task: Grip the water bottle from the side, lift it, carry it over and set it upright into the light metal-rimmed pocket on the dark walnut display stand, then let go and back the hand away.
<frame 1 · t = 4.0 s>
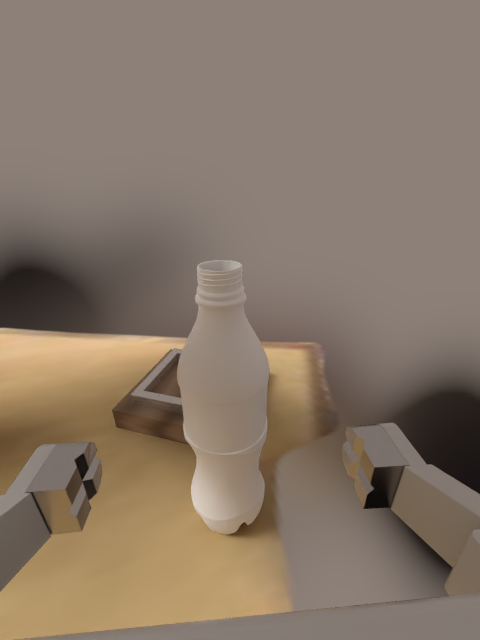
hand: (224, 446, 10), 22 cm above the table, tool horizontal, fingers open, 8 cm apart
water bottle: (228, 506, 30), on the table
display stand: (194, 399, 45), on the table
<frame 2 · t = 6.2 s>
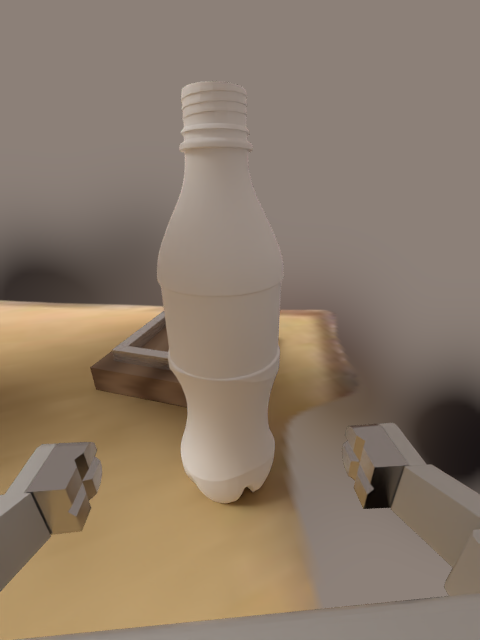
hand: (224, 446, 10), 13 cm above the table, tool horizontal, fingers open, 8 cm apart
water bottle: (229, 472, 24), on the table
display stand: (189, 362, 38), on the table
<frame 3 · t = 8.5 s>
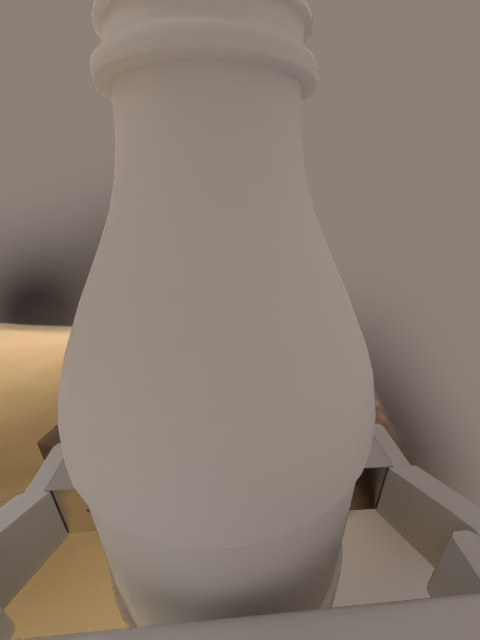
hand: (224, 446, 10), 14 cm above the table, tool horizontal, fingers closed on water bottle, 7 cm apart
display stand: (179, 419, 29), on the table
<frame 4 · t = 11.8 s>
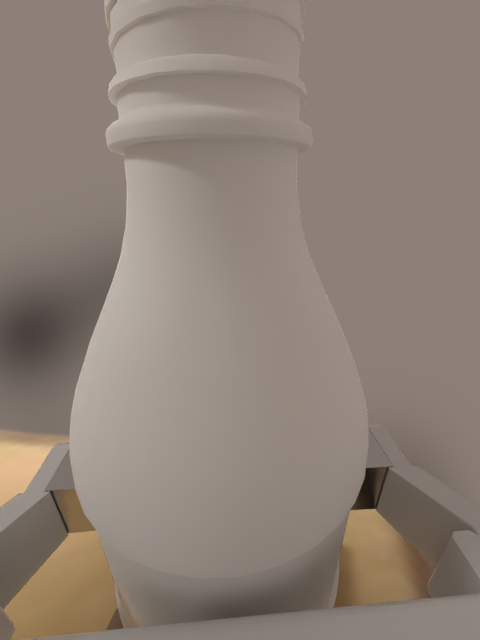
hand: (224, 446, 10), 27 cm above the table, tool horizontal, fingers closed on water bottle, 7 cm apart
when the fingers open (18 cm above the table, at t = 15.2 s): water bottle stays where it is, resting on display stand.
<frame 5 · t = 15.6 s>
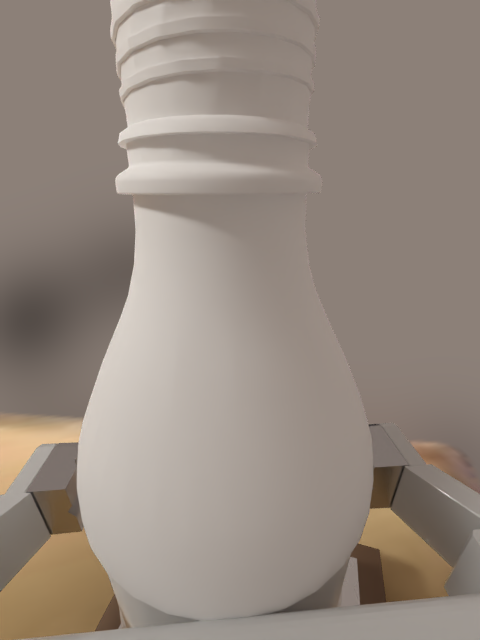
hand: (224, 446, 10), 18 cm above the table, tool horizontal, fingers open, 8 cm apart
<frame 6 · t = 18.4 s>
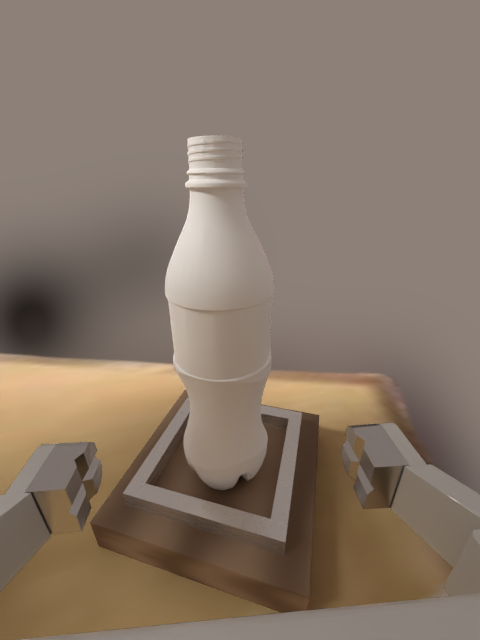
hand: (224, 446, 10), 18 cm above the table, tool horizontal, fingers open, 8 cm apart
water bottle: (226, 463, 26), point 3 cm above the table, touching display stand
display stand: (226, 481, 28), on the table
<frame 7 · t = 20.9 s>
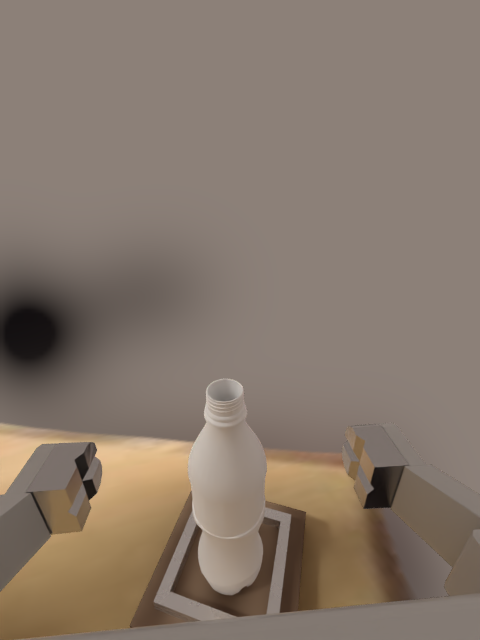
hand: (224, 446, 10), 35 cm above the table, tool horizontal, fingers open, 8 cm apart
water bottle: (231, 565, 34), point 3 cm above the table, touching display stand
display stand: (231, 574, 35), on the table
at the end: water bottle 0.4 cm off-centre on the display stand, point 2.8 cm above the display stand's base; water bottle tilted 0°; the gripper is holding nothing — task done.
